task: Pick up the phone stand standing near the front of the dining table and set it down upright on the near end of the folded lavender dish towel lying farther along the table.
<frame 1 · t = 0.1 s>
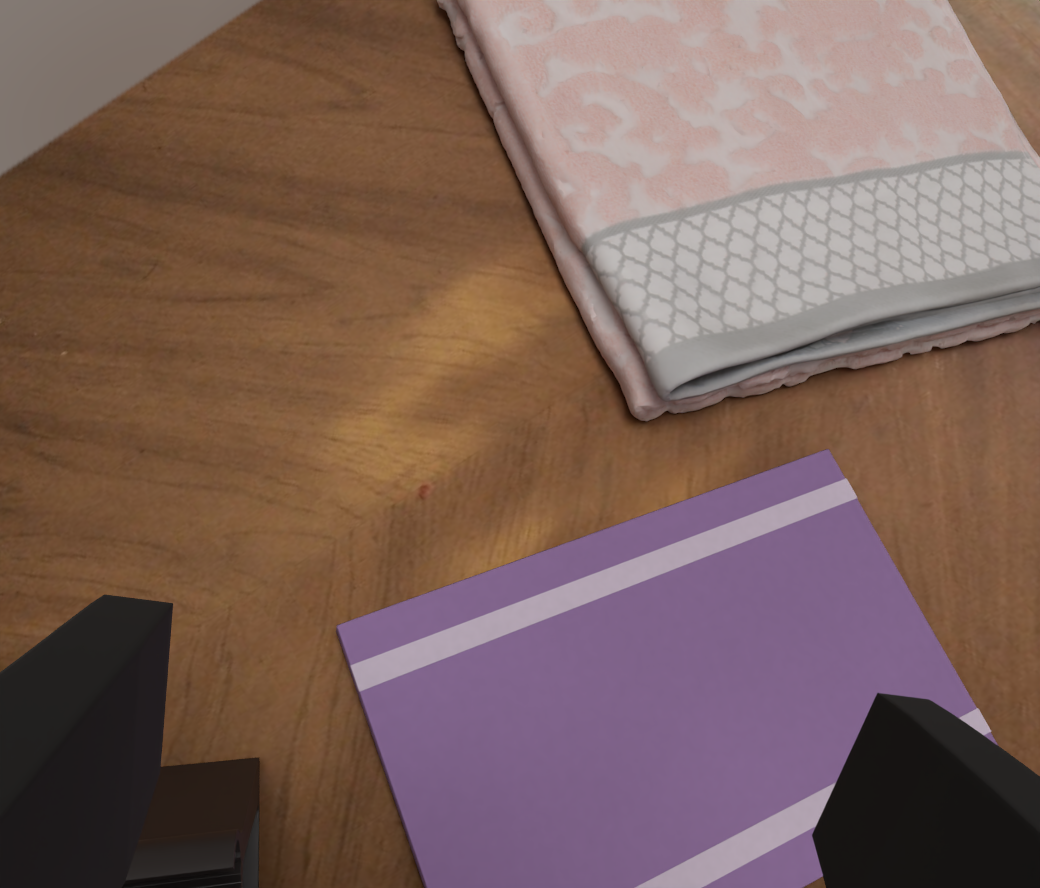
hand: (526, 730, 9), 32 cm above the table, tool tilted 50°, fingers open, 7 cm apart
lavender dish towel: (681, 703, 42), on the table
towel: (757, 157, 59), on the table
phone stand: (181, 885, 35), on the table
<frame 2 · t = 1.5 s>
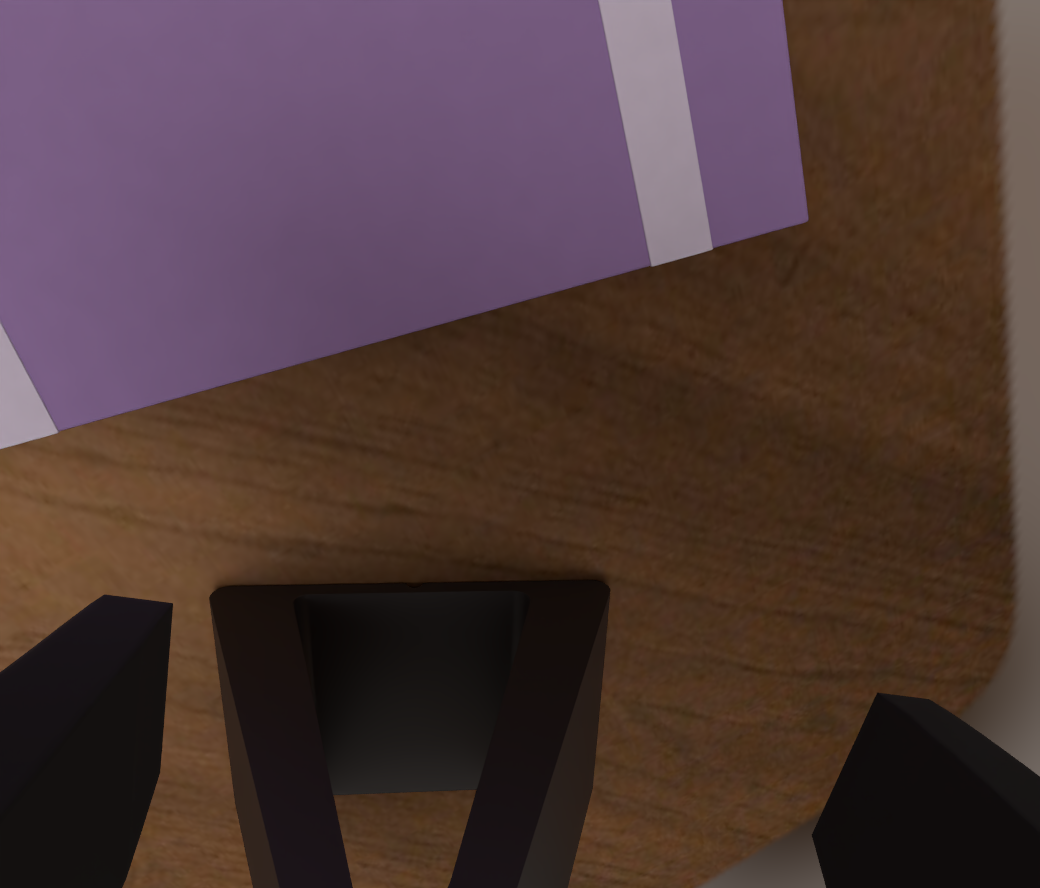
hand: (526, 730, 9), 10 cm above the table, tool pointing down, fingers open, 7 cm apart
phone stand: (416, 682, 22), on the table
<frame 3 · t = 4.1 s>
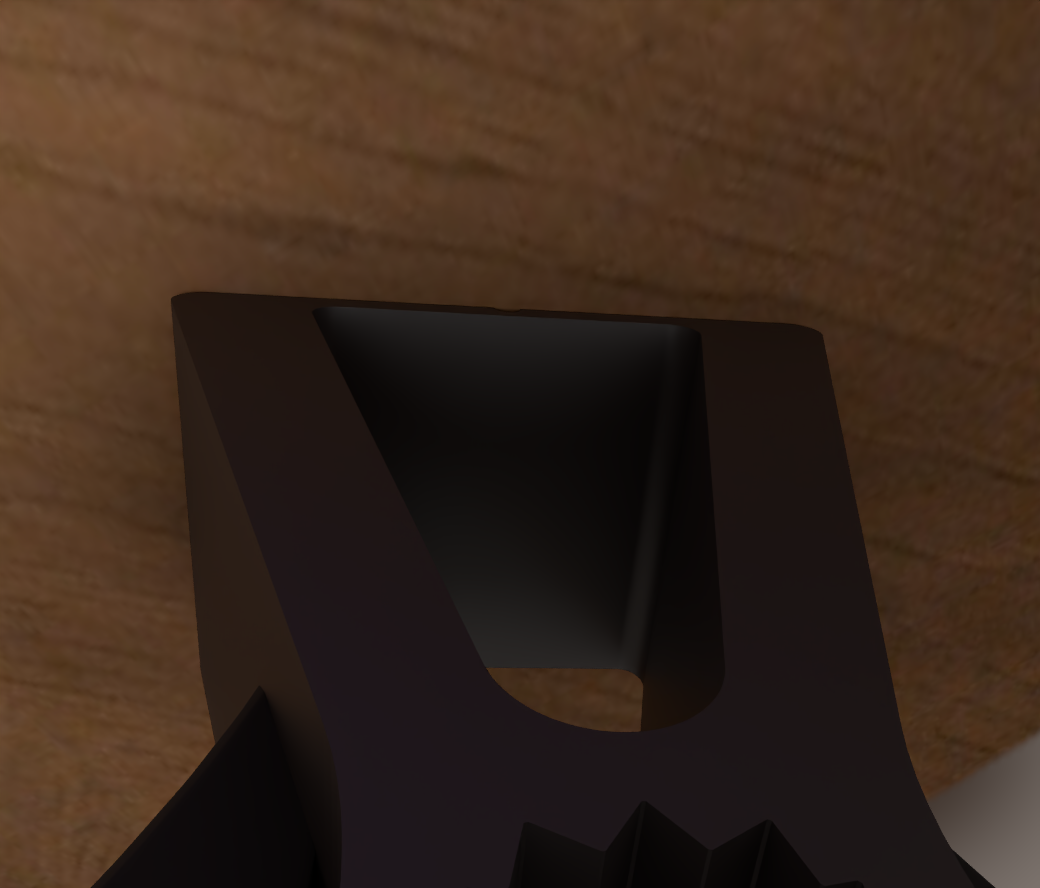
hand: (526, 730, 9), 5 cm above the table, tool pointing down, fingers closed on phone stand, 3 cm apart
phone stand: (492, 490, 14), on the table, touching gripper
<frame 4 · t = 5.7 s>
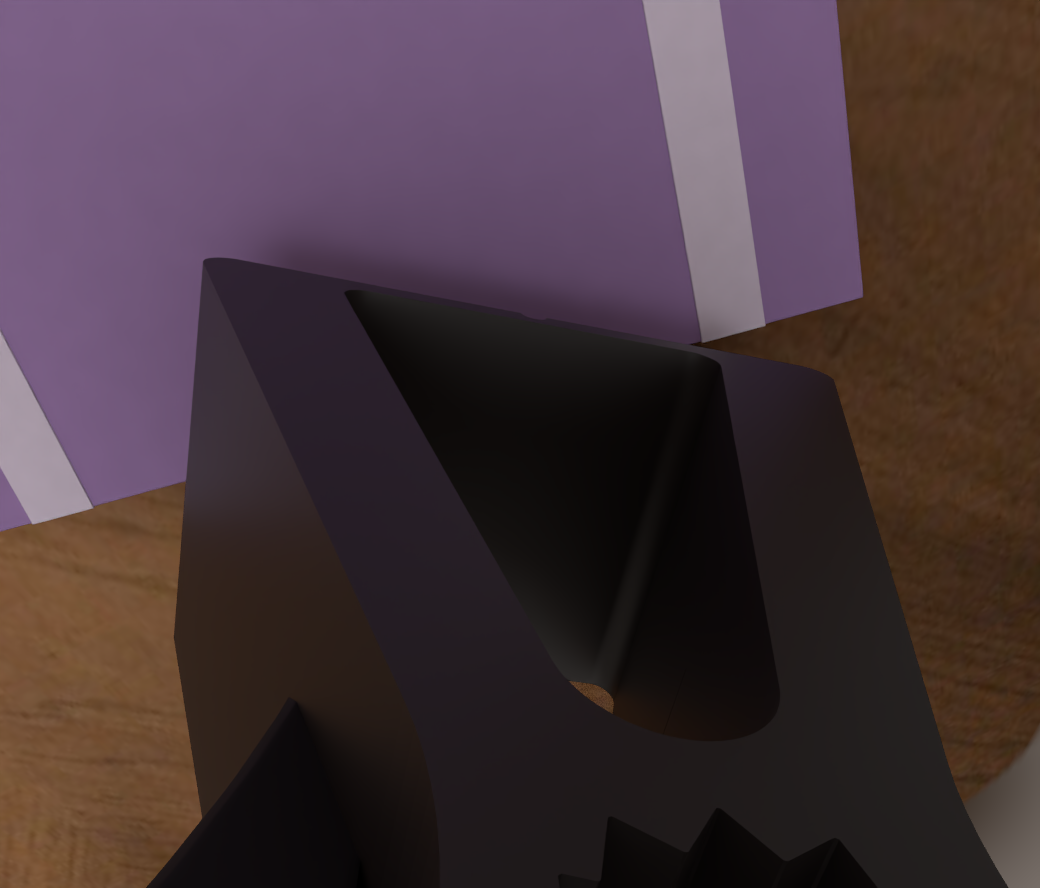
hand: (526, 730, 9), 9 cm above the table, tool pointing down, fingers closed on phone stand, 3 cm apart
phone stand: (491, 492, 14), point 4 cm above the table, touching gripper
when the fingers open (6 cm above the table, at t = 7.6 s): phone stand stays where it is, resting on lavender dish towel.
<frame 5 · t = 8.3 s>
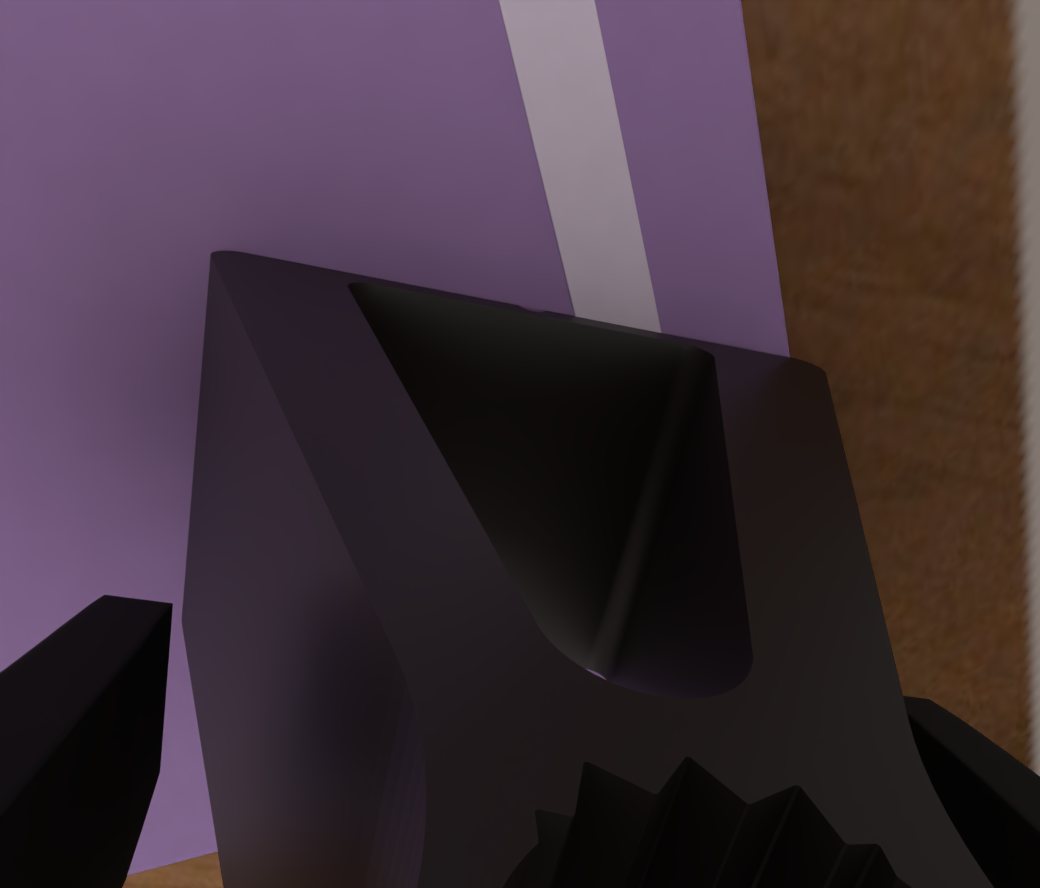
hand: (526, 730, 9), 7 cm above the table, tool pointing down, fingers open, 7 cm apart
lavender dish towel: (42, 16, 12), on the table
phone stand: (491, 481, 14), point 1 cm above the table, touching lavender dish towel
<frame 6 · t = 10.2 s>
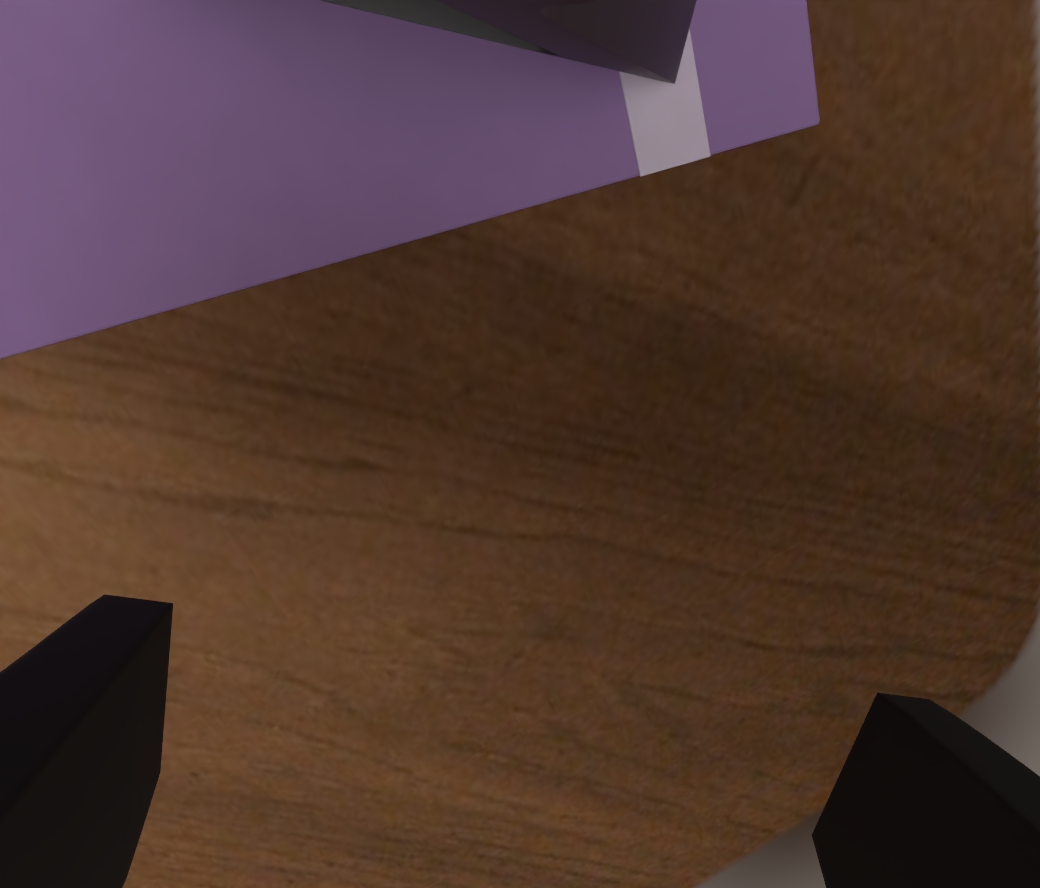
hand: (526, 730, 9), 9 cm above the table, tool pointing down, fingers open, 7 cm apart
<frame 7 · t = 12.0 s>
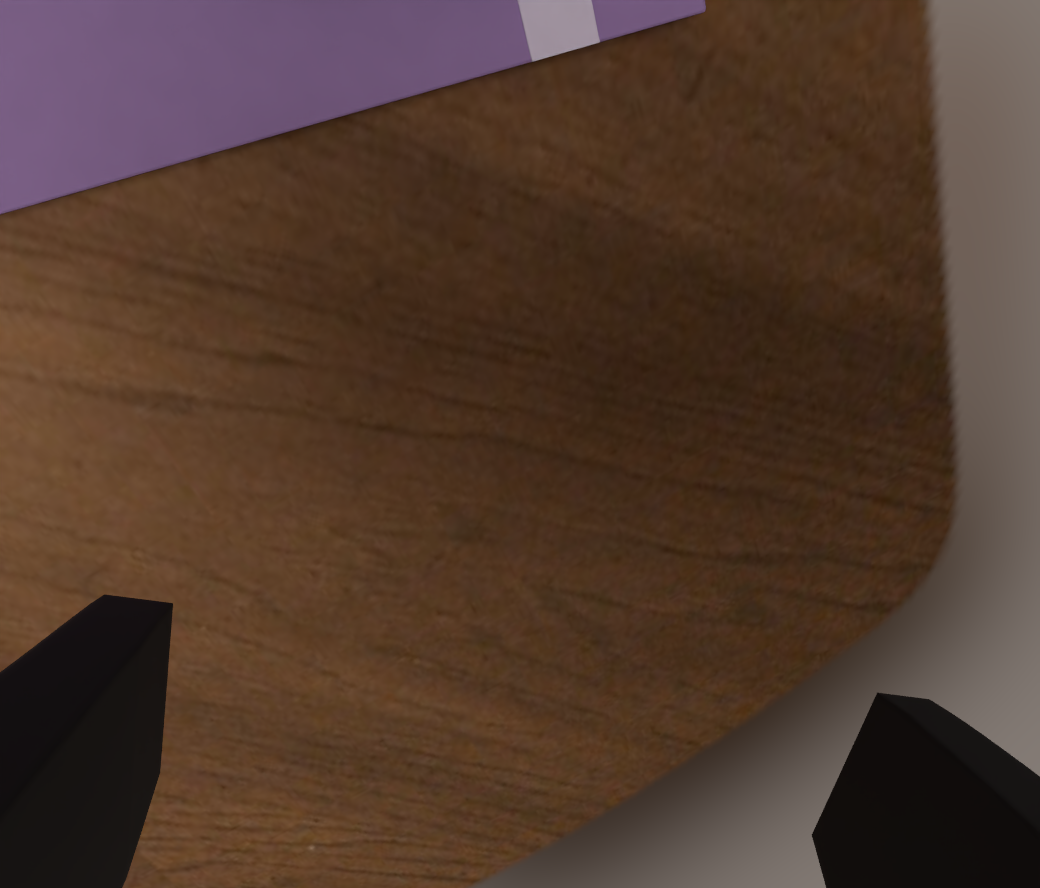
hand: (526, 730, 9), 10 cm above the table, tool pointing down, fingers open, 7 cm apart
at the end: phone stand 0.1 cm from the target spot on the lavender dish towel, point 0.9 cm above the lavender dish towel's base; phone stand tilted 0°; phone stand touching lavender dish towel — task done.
